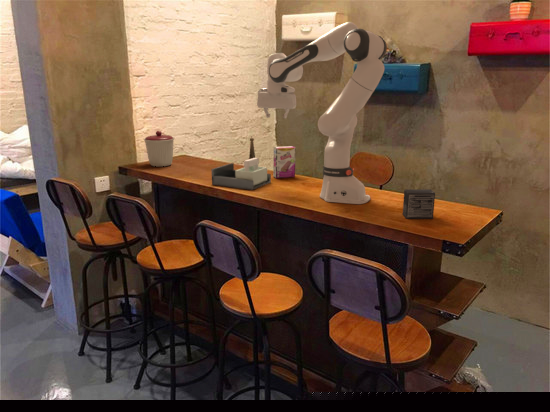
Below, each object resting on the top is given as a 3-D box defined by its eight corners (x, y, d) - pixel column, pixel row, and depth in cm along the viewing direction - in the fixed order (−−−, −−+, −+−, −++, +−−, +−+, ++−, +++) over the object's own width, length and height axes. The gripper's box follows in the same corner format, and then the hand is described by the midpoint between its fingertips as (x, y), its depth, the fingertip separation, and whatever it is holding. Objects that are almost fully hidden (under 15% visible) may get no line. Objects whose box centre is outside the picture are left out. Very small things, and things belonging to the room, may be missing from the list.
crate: (267, 180, 231) (267, 158, 228) (252, 186, 220) (252, 162, 216) (250, 178, 236) (250, 156, 233) (235, 184, 224) (235, 160, 221)
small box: (428, 214, 180) (431, 188, 177) (433, 219, 173) (436, 192, 170) (401, 214, 180) (403, 188, 177) (405, 219, 174) (408, 192, 171)
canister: (139, 166, 273) (136, 131, 267) (158, 161, 289) (155, 128, 283) (164, 169, 266) (161, 133, 261) (182, 163, 282) (179, 129, 276)
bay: (270, 182, 233) (270, 167, 231) (252, 190, 218) (252, 173, 216) (232, 177, 244) (231, 163, 242) (212, 184, 229) (211, 169, 227)
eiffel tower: (258, 179, 241) (258, 132, 234) (240, 178, 244) (238, 131, 237) (264, 175, 251) (264, 129, 244) (246, 174, 253) (245, 129, 246)
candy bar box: (276, 178, 241) (276, 148, 237) (273, 176, 246) (273, 146, 241) (295, 177, 245) (295, 147, 240) (292, 175, 250) (292, 145, 245)
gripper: (254, 88, 219) (254, 117, 223) (292, 89, 210) (291, 119, 214) (261, 88, 224) (261, 116, 228) (298, 88, 215) (297, 118, 219)
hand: (276, 117), depth 221 cm, fingers open, 8 cm apart
